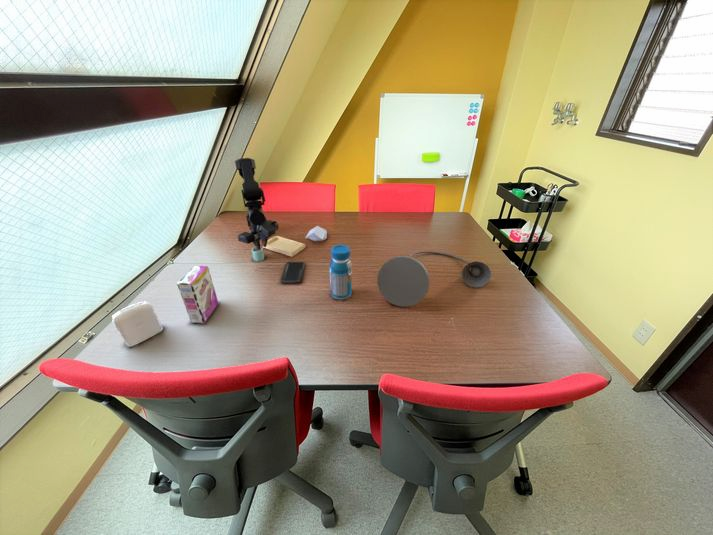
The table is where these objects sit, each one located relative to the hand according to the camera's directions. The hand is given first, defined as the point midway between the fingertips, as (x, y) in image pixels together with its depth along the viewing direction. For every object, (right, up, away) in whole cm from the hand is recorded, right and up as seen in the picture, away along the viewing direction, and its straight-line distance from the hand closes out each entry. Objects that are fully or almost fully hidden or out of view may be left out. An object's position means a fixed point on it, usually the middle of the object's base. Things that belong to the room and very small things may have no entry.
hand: (262, 248), depth 129 cm
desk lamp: (+76, -14, -8) cm, 78 cm away
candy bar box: (-11, -25, -27) cm, 38 cm away
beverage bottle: (+36, -19, -17) cm, 44 cm away
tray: (+6, +1, +14) cm, 15 cm away
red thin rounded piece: (-1, 0, +1) cm, 2 cm away
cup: (-3, -4, +5) cm, 7 cm away
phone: (+15, -11, -5) cm, 20 cm away
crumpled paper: (+22, +6, +22) cm, 32 cm away
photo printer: (-25, -31, -37) cm, 54 cm away
